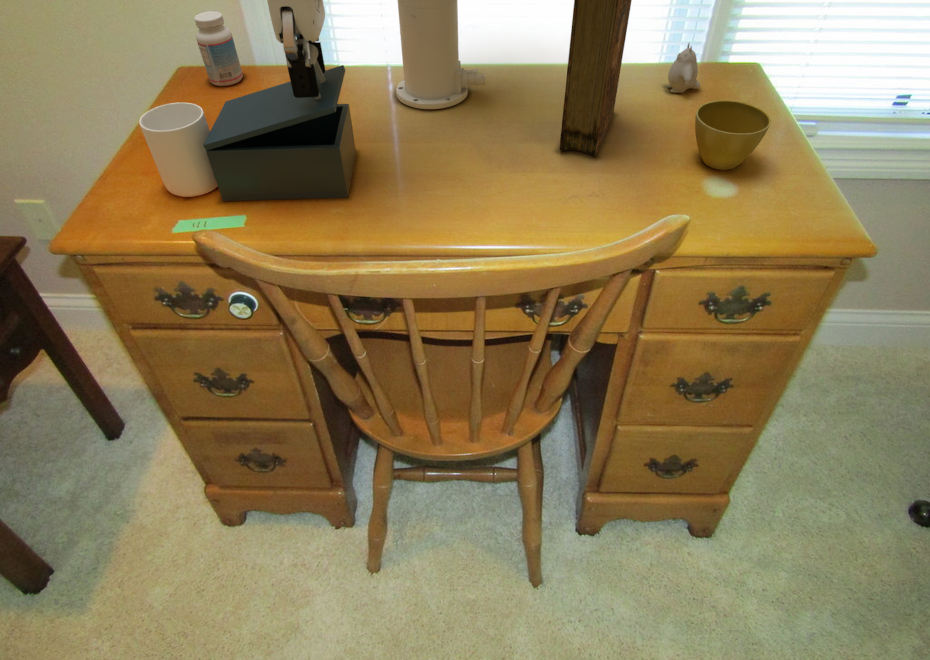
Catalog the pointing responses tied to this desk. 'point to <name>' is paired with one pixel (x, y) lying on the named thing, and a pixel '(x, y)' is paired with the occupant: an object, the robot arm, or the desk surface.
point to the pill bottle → (217, 49)
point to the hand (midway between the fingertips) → (310, 83)
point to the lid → (275, 107)
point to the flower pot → (729, 132)
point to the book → (593, 72)
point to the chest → (289, 161)
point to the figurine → (684, 72)
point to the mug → (179, 147)
